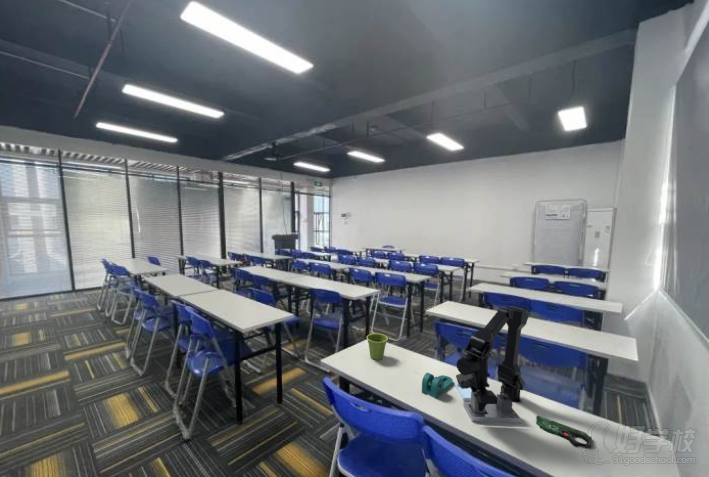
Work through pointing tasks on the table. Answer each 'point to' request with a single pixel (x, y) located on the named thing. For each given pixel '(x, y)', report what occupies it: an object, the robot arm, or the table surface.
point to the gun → (564, 432)
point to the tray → (464, 392)
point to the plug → (475, 404)
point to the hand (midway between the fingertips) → (478, 407)
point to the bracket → (435, 384)
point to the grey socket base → (495, 412)
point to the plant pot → (377, 345)
